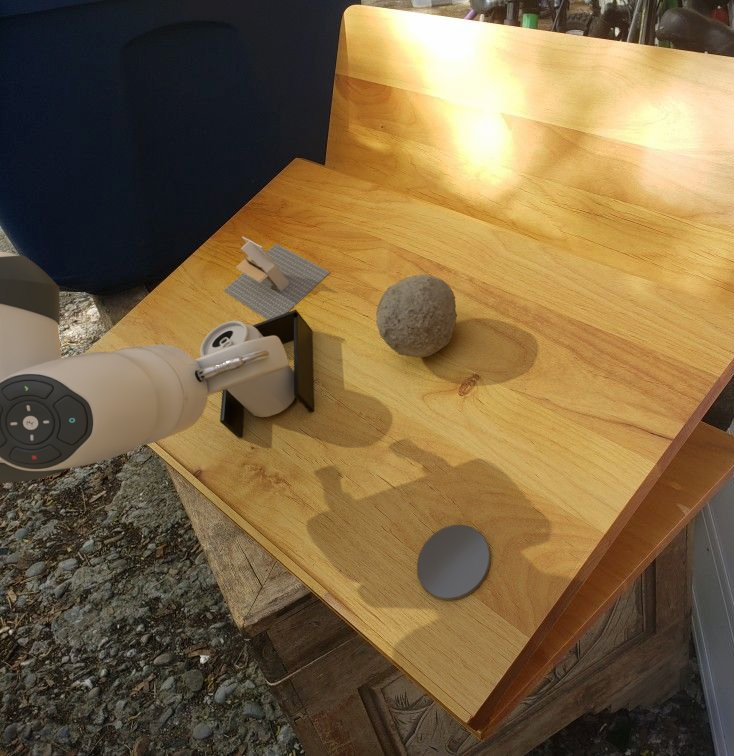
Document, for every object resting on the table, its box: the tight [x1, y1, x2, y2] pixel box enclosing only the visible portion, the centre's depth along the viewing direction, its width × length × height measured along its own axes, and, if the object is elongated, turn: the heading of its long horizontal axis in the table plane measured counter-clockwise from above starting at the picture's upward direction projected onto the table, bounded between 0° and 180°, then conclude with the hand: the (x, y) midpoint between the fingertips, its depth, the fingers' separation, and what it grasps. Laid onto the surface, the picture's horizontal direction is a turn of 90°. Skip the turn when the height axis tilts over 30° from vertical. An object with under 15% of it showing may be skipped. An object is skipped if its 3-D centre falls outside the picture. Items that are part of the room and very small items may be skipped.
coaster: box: [416, 524, 492, 601], centre depth 68 cm, size 8×8×1 cm
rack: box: [219, 309, 315, 439], centre depth 89 cm, size 15×11×4 cm
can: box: [199, 320, 296, 418], centre depth 84 cm, size 8×8×12 cm
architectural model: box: [223, 236, 331, 320], centre depth 101 cm, size 3×7×7 cm, turn 49°
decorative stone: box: [375, 274, 458, 358], centre depth 83 cm, size 10×8×10 cm
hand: (222, 375), depth 78 cm, fingers open, 8 cm apart
